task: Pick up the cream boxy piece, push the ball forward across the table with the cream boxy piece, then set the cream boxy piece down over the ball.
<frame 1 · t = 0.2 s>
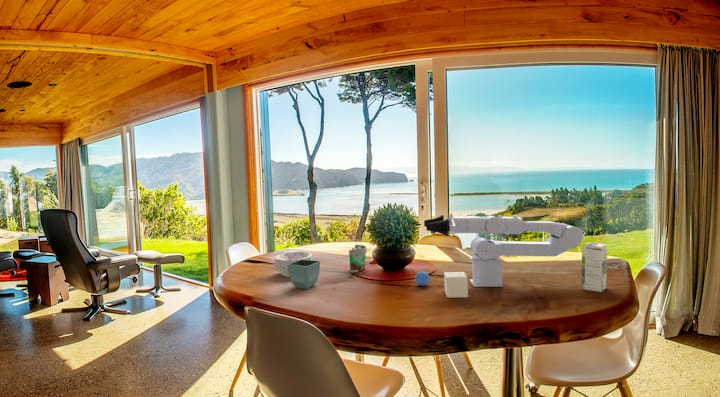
hand: (425, 225, 131), 21 cm above the table, tool horizontal, fingers open, 7 cm apart
paper bowls: (294, 274, 155), on the table
flower pot: (305, 287, 136), on the table
food container: (360, 271, 155), on the table
ball: (422, 278, 132), on the table
cream boxy piece: (456, 294, 121), on the table
syrup box: (594, 289, 121), on the table
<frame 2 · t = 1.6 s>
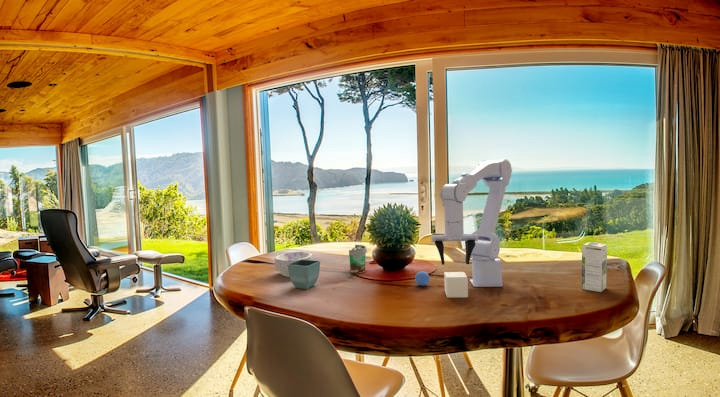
hand: (455, 263, 121), 10 cm above the table, tool pointing down, fingers open, 7 cm apart
nothing on the table moved.
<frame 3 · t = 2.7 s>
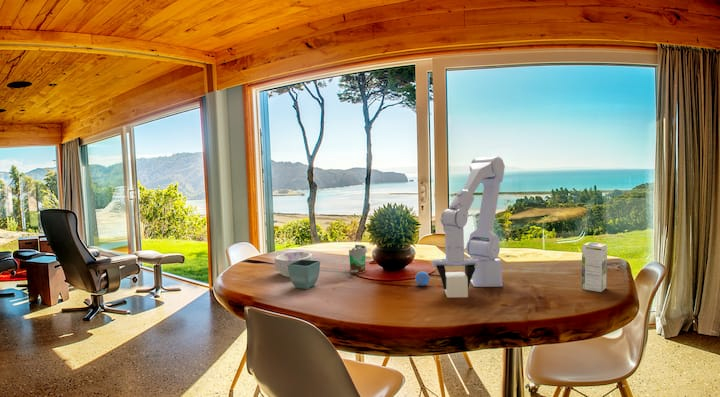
hand: (455, 288, 121), 2 cm above the table, tool pointing down, fingers closed on cream boxy piece, 6 cm apart
cream boxy piece: (456, 294, 121), on the table, touching gripper
everything else where it was.
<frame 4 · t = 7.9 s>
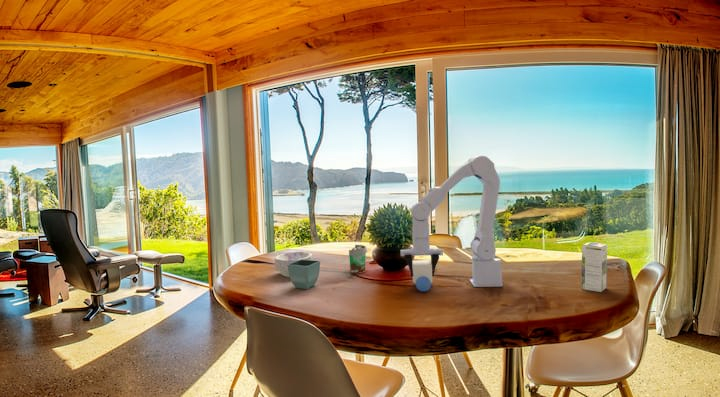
hand: (422, 275, 132), 3 cm above the table, tool pointing down, fingers closed on cream boxy piece, 6 cm apart
ball: (423, 283, 125), on the table
cream boxy piece: (422, 280, 132), point 2 cm above the table, touching gripper
everything else where it was.
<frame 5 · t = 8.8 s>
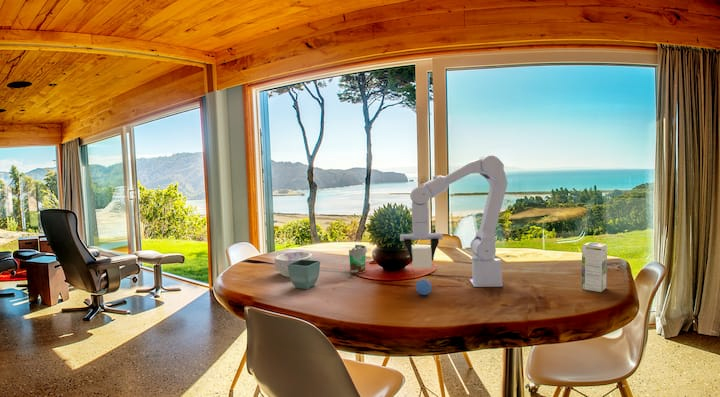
hand: (421, 260, 131), 9 cm above the table, tool pointing down, fingers closed on cream boxy piece, 6 cm apart
ball: (423, 287, 122), on the table
cream boxy piece: (421, 265, 132), point 7 cm above the table, touching gripper
everything else where it was.
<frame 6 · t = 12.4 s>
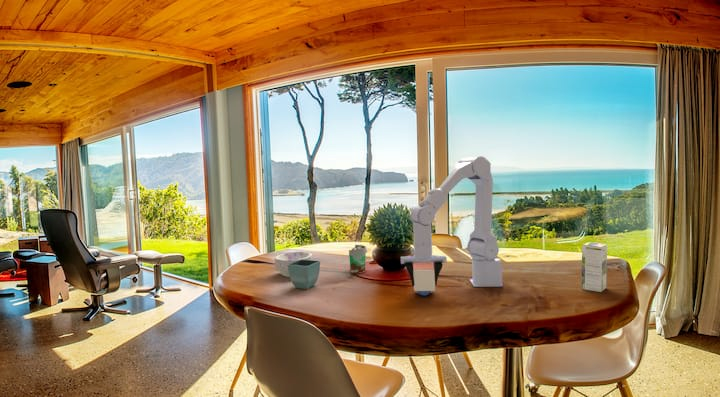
hand: (424, 284, 122), 3 cm above the table, tool pointing down, fingers closed on cream boxy piece, 6 cm apart
cream boxy piece: (424, 290, 122), point 2 cm above the table, tilted 14°, touching gripper
when the fingers open (3 cm above the table, at t = 13.1 s): cream boxy piece drops 1 cm, on the table.
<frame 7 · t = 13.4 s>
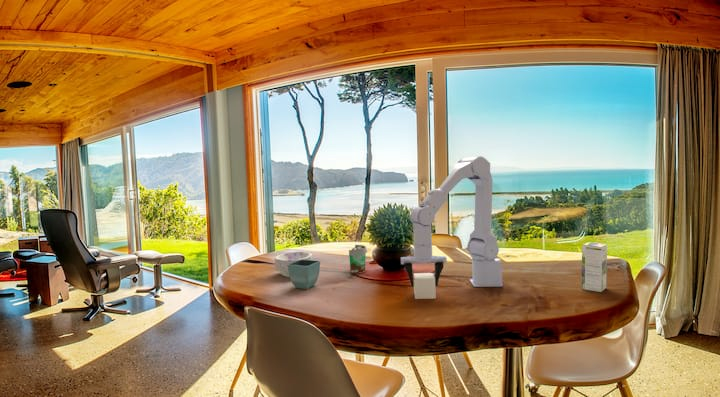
hand: (424, 285, 122), 3 cm above the table, tool pointing down, fingers open, 7 cm apart
cream boxy piece: (424, 295, 121), on the table
everything else where it was.
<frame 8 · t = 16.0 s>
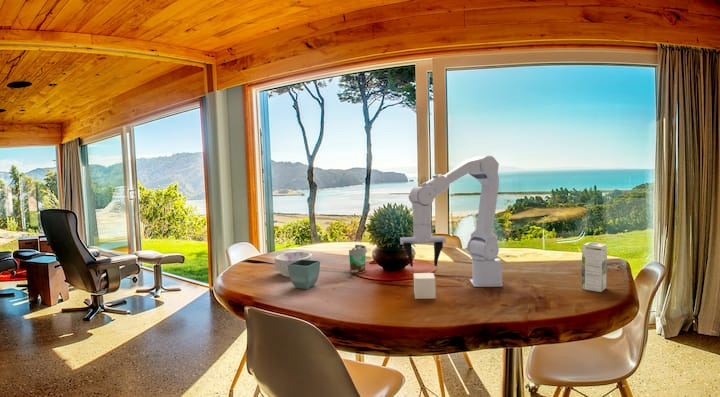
hand: (423, 265, 122), 9 cm above the table, tool pointing down, fingers open, 7 cm apart
nothing on the table moved.
at the end: ball 0.3 cm from the cream boxy piece (horizontally); cream boxy piece on the table; ball moved 10.7 cm from its start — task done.
